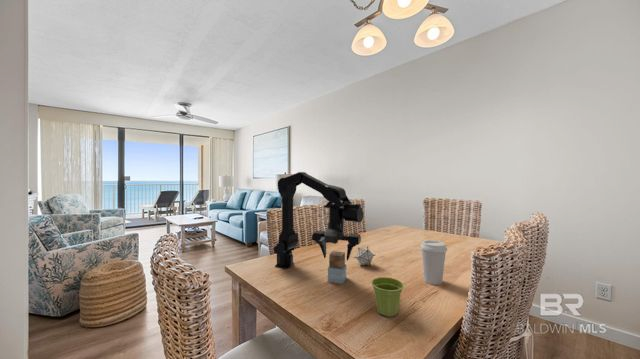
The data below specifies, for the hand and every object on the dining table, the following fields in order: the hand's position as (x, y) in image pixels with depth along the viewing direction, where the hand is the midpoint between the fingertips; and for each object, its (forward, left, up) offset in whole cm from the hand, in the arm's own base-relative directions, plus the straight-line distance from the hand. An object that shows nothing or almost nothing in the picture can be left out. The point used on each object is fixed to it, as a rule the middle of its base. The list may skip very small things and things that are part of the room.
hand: (336, 258), depth 100 cm
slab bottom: (+1, 0, -9) cm, 9 cm away
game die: (+8, +19, -8) cm, 22 cm away
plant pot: (+21, -17, -8) cm, 28 cm away
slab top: (+1, 0, -5) cm, 5 cm away
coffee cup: (+36, +11, -8) cm, 39 cm away
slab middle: (+1, 0, -7) cm, 7 cm away
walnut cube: (+1, 0, -3) cm, 3 cm away
